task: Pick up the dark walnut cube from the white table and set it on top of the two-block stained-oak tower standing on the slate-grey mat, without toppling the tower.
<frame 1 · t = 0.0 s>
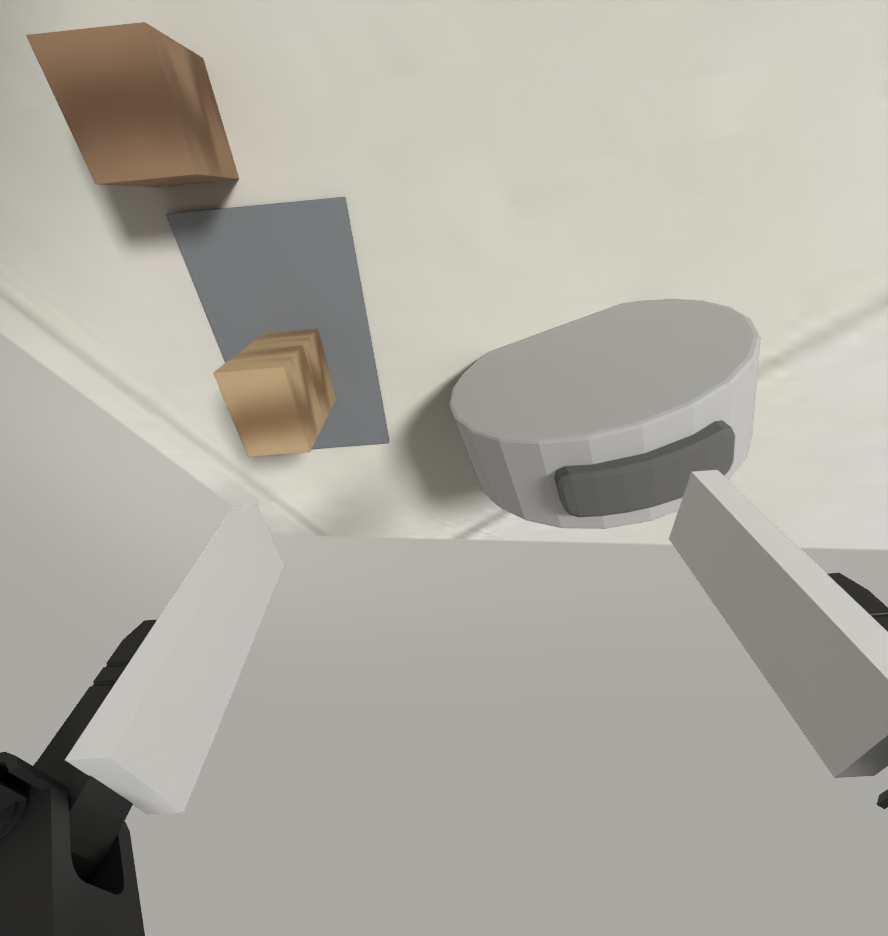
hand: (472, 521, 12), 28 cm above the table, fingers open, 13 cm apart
oak block upper: (285, 388, 34), point 5 cm above the table, touching oak block lower
alarm clock: (560, 364, 39), on the table
walnut cube: (178, 127, 28), on the table
oak block lower: (301, 367, 38), resting on slate mat, touching oak block upper
slate mat: (297, 345, 37), on the table
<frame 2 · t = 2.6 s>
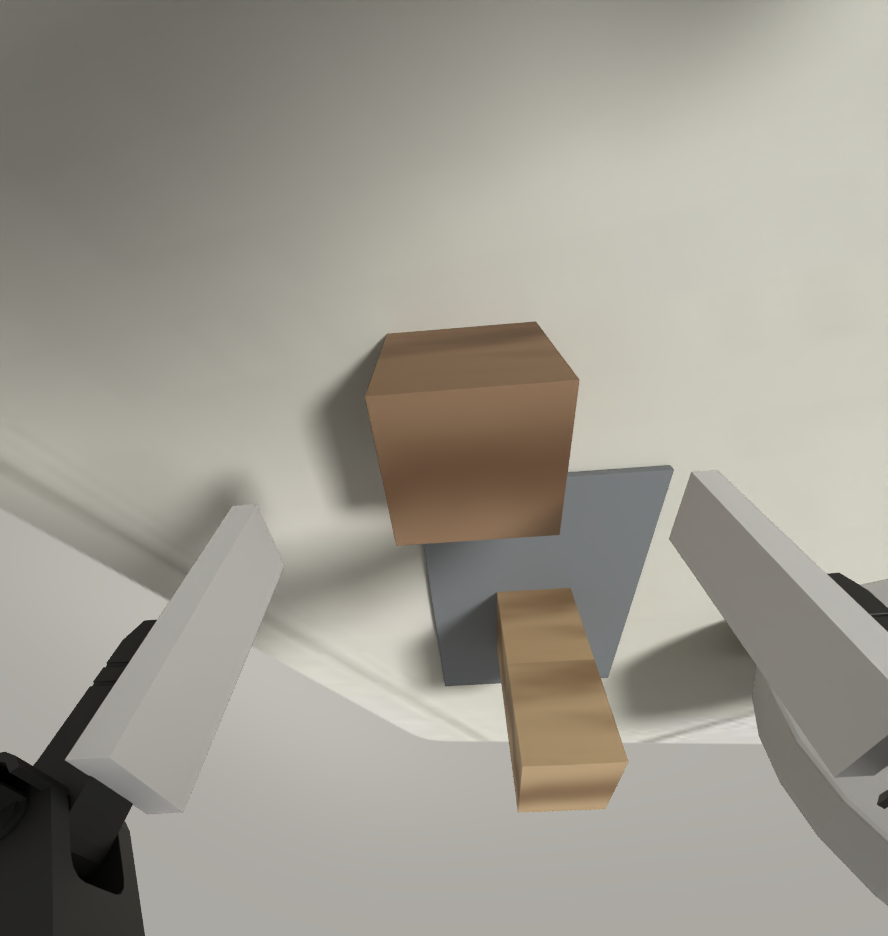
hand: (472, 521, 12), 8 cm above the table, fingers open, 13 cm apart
oak block upper: (546, 691, 25), point 5 cm above the table, touching oak block lower
alarm clock: (861, 609, 30), on the table
walnut cube: (464, 395, 19), on the table
oak block lower: (531, 620, 29), resting on slate mat, touching oak block upper
slate mat: (531, 598, 28), on the table
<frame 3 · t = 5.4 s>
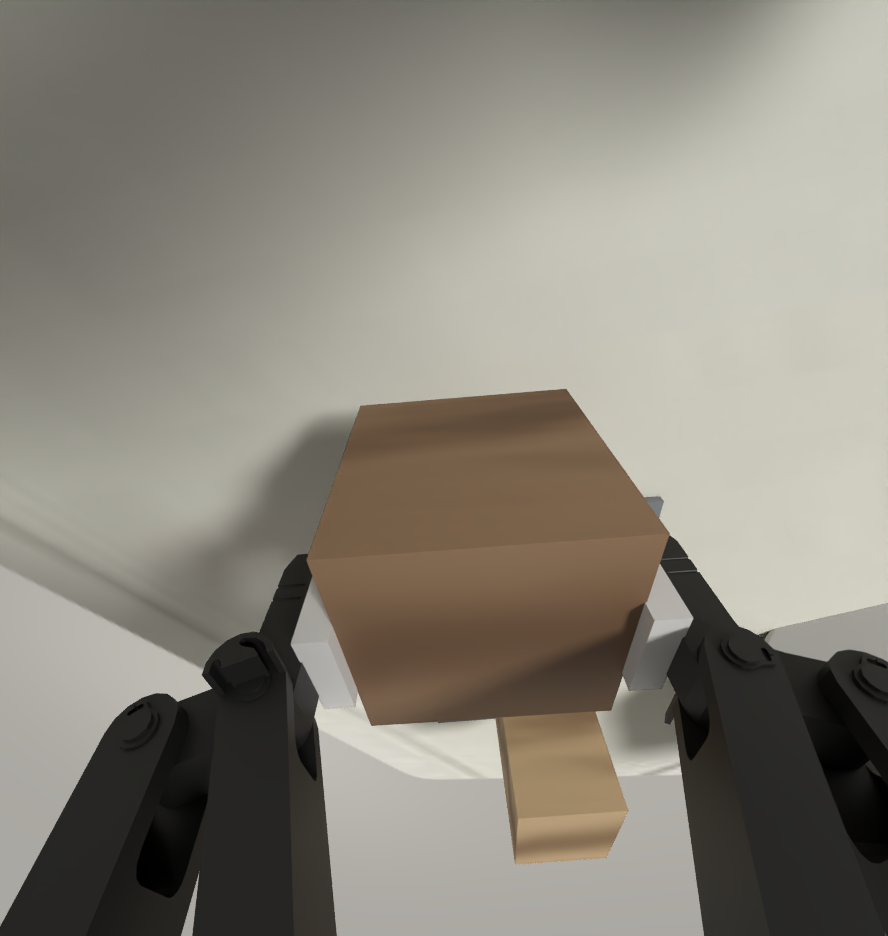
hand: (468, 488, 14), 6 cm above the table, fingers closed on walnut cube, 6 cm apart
oak block upper: (542, 730, 24), point 5 cm above the table, touching oak block lower
alarm clock: (856, 635, 29), on the table
walnut cube: (467, 480, 14), point 5 cm above the table, touching gripper
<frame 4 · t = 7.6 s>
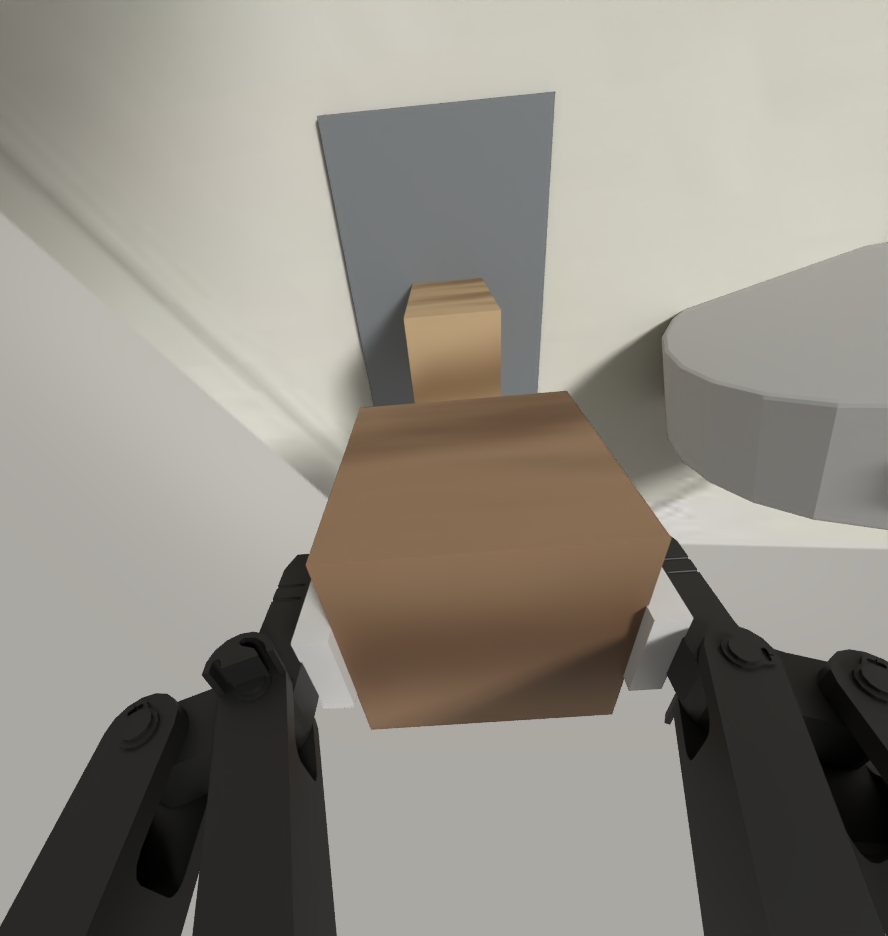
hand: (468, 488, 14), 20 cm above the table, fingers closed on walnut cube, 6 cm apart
oak block upper: (452, 350, 26), point 5 cm above the table, touching oak block lower
alarm clock: (765, 326, 31), on the table
walnut cube: (467, 482, 14), point 20 cm above the table, touching gripper
oak block lower: (450, 330, 30), resting on slate mat, touching oak block upper
slate mat: (448, 301, 30), on the table
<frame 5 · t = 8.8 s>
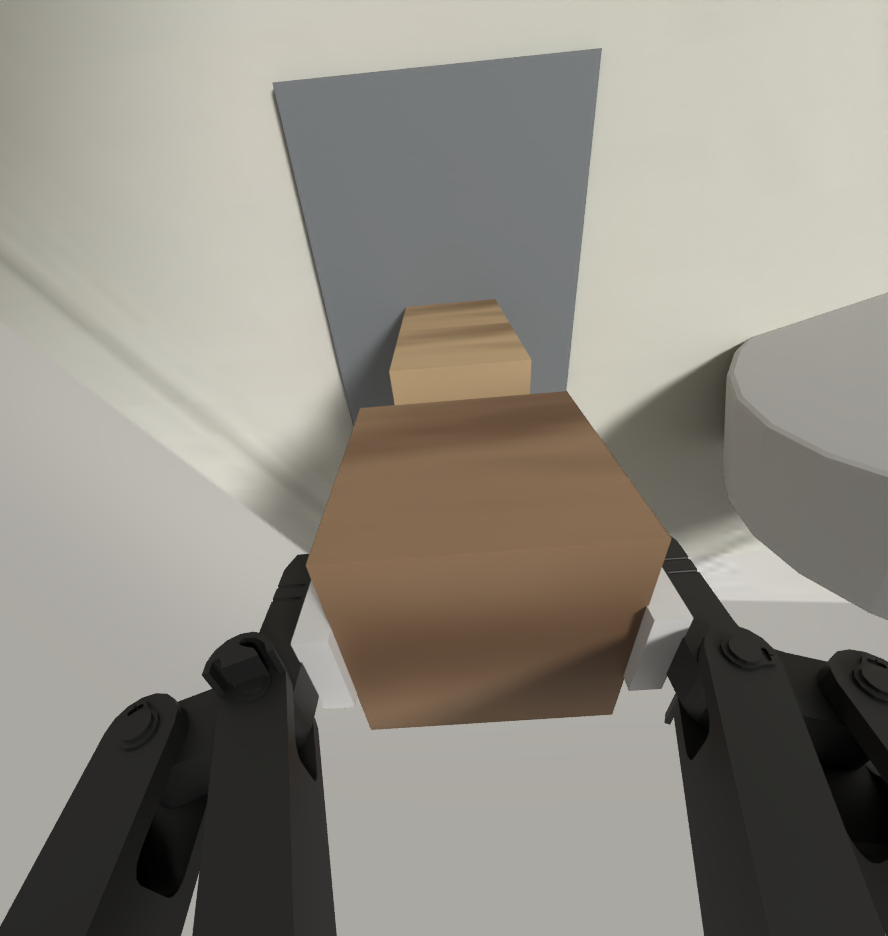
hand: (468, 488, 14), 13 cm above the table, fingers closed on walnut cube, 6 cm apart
oak block upper: (458, 397, 20), point 5 cm above the table, touching oak block lower
alarm clock: (849, 358, 25), on the table
walnut cube: (467, 482, 14), point 12 cm above the table, touching gripper
oak block lower: (454, 363, 24), resting on slate mat, touching oak block upper
slate mat: (452, 328, 23), on the table
when the fingers open (11 cm above the table, at t = 9.9 s): walnut cube stays where it is, resting on oak block upper.
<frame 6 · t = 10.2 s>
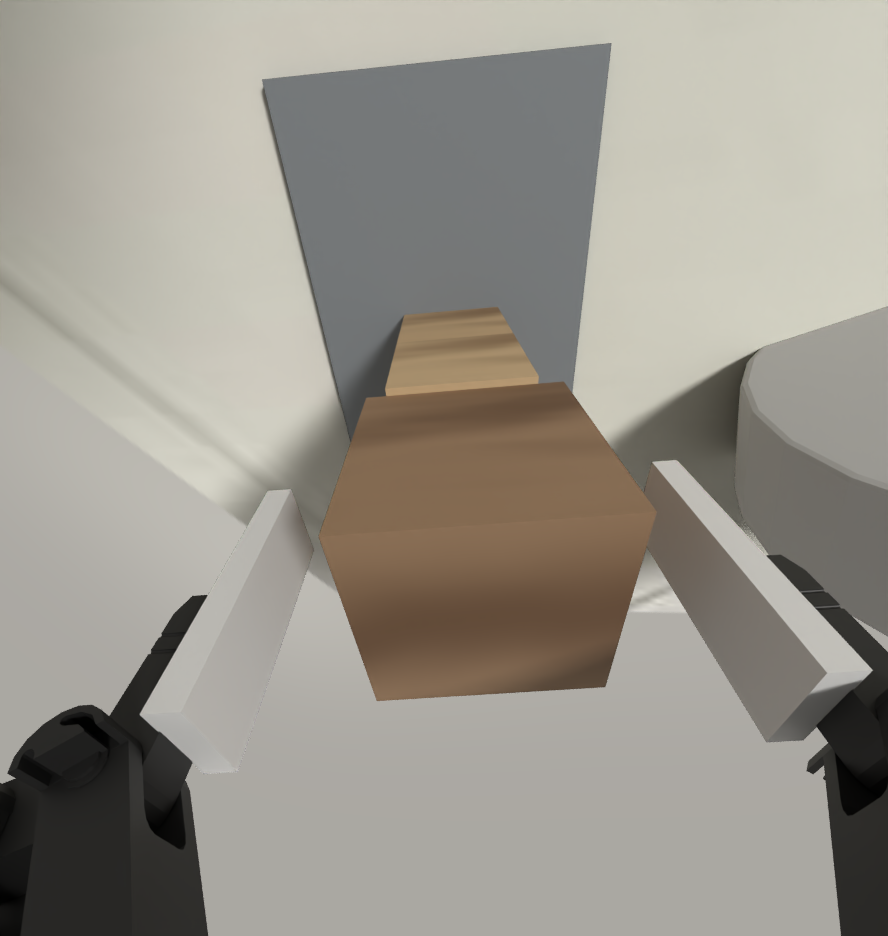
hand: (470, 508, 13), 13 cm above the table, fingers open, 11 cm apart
oak block upper: (459, 411, 19), point 5 cm above the table, touching oak block lower, walnut cube
alarm clock: (866, 367, 24), on the table
walnut cube: (468, 470, 15), point 10 cm above the table, touching oak block upper
oak block lower: (454, 373, 23), resting on slate mat, touching oak block upper
slate mat: (452, 337, 22), on the table
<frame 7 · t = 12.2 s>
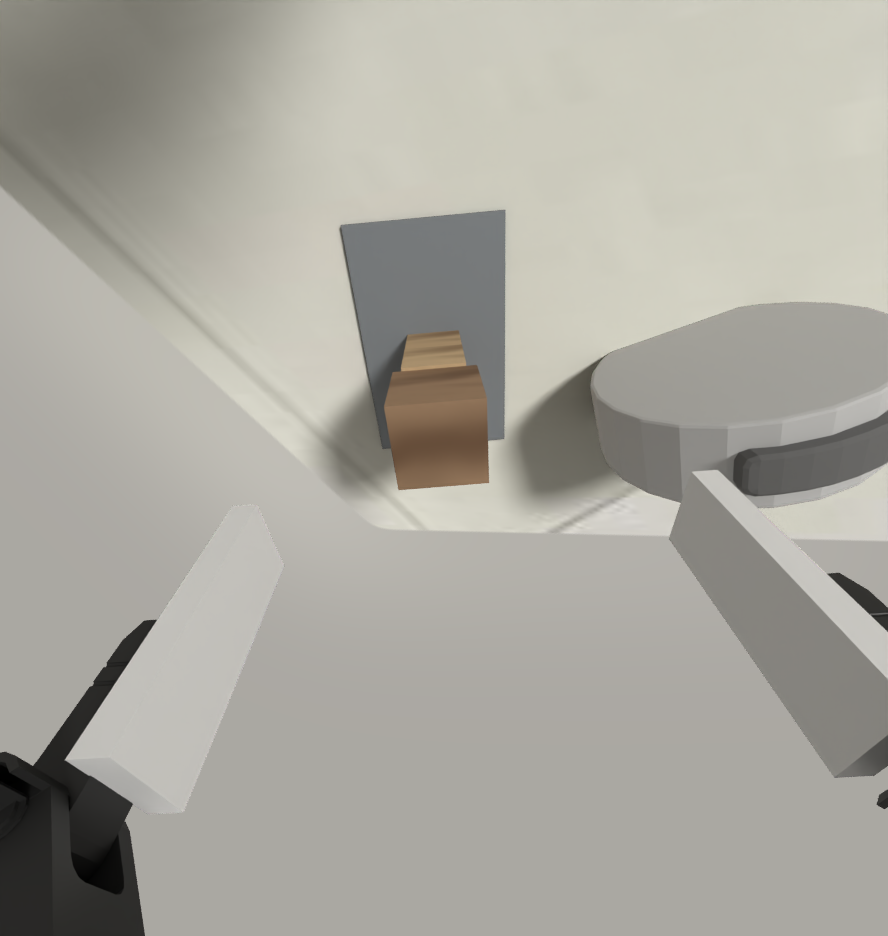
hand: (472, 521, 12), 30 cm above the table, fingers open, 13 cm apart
oak block upper: (436, 385, 36), point 5 cm above the table, touching oak block lower, walnut cube
alarm clock: (674, 363, 42), on the table
walnut cube: (438, 407, 32), point 10 cm above the table, touching oak block upper
oak block lower: (436, 367, 40), resting on slate mat, touching oak block upper
slate mat: (434, 346, 40), on the table
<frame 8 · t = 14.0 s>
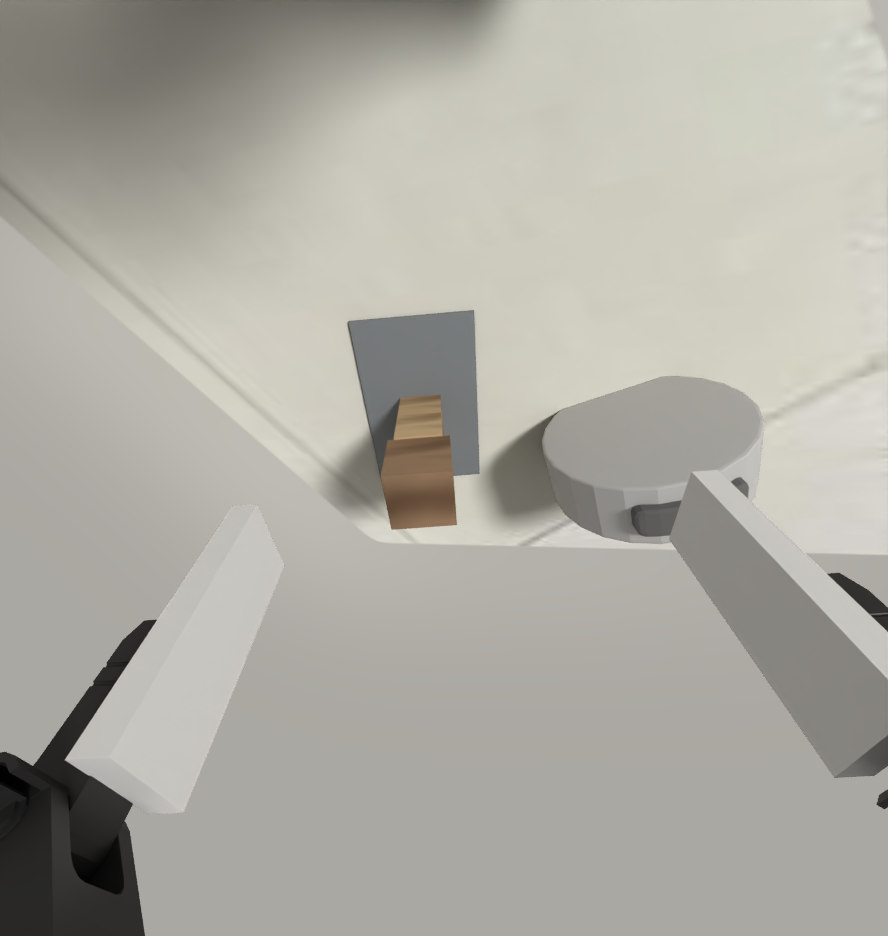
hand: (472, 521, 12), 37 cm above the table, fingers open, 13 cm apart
oak block upper: (422, 440, 47), point 5 cm above the table, touching oak block lower, walnut cube
alarm clock: (614, 417, 52), on the table
walnut cube: (422, 463, 43), point 10 cm above the table, touching oak block upper
oak block lower: (423, 421, 51), resting on slate mat, touching oak block upper
slate mat: (421, 405, 50), on the table
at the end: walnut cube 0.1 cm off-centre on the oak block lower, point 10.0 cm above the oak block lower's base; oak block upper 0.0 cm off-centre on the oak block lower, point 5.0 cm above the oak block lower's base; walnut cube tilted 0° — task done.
